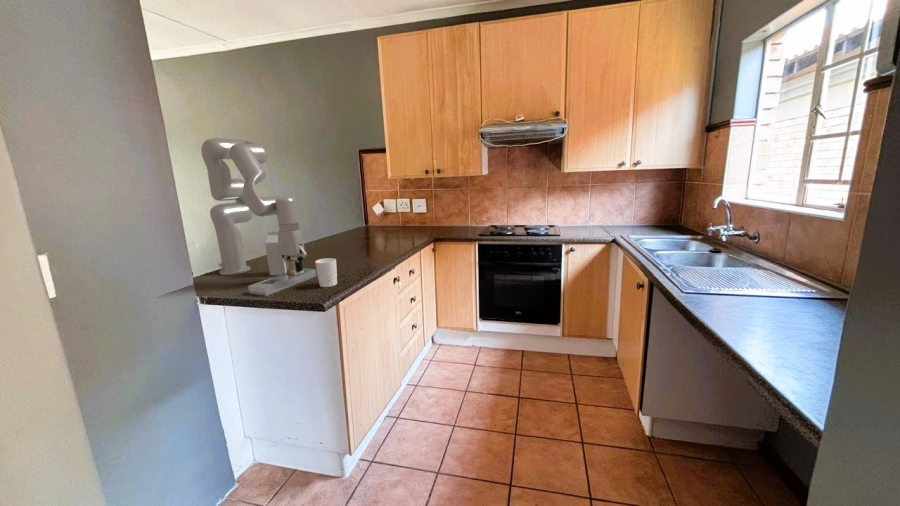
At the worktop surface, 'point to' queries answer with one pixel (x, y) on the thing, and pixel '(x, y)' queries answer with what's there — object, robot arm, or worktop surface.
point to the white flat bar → (280, 282)
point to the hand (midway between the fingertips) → (295, 270)
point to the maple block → (291, 267)
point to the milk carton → (274, 255)
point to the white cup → (326, 272)
